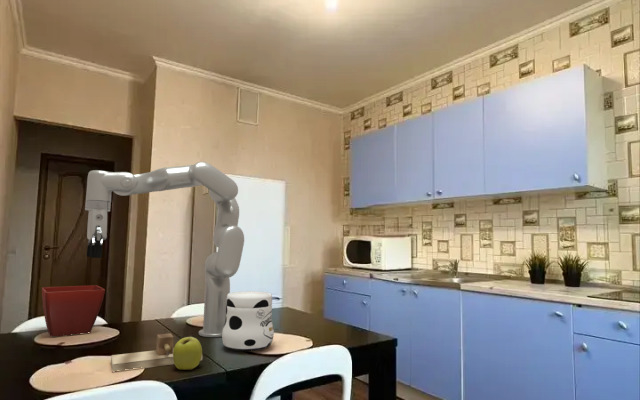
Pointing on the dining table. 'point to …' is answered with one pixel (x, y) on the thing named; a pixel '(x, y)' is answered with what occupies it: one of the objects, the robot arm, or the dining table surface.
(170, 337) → the mallet
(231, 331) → the milk container
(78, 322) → the plant pot
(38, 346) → the dining table surface
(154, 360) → the board
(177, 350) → the apple
